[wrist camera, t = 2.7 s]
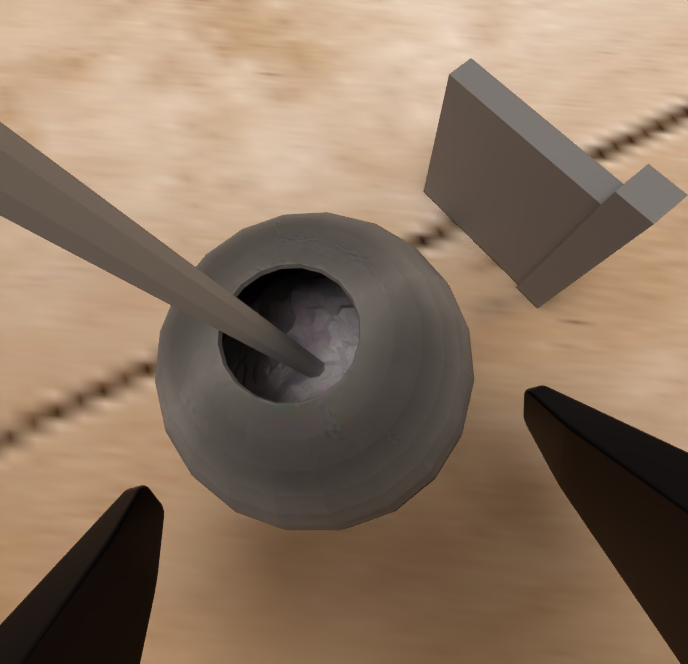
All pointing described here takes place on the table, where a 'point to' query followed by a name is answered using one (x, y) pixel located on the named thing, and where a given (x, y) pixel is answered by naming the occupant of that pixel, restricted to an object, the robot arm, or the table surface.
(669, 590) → the robot arm
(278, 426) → the beverage cup
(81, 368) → the table surface
